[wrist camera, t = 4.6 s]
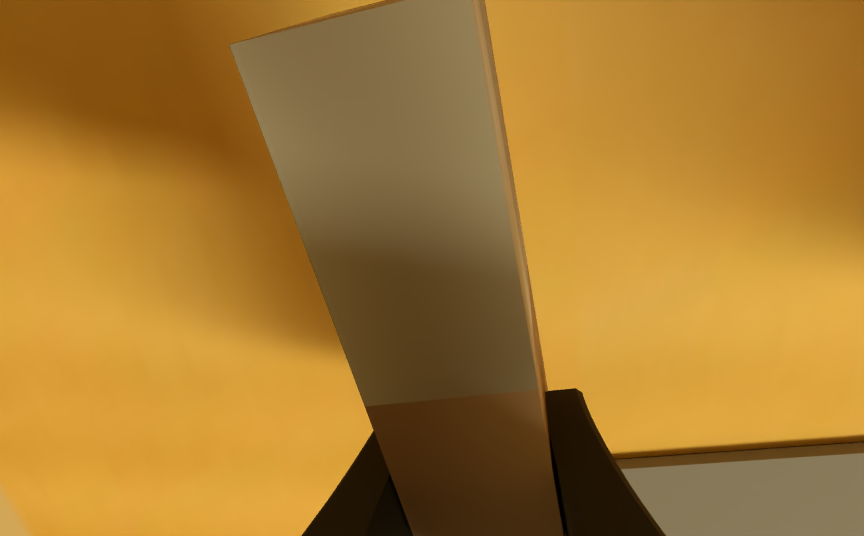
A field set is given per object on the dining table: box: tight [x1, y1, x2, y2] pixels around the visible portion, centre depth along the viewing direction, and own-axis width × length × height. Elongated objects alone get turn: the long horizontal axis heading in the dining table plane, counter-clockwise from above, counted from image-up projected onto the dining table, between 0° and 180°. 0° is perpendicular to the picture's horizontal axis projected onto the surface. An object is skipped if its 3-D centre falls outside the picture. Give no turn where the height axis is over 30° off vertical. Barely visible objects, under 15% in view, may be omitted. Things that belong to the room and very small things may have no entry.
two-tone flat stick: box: [229, 0, 566, 536], centre depth 11 cm, size 2×16×4 cm, turn 13°
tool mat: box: [615, 442, 864, 536], centre depth 23 cm, size 22×9×1 cm, turn 103°
